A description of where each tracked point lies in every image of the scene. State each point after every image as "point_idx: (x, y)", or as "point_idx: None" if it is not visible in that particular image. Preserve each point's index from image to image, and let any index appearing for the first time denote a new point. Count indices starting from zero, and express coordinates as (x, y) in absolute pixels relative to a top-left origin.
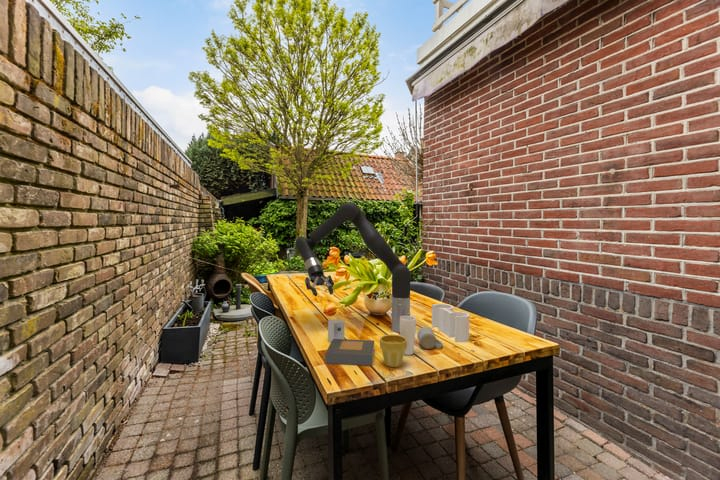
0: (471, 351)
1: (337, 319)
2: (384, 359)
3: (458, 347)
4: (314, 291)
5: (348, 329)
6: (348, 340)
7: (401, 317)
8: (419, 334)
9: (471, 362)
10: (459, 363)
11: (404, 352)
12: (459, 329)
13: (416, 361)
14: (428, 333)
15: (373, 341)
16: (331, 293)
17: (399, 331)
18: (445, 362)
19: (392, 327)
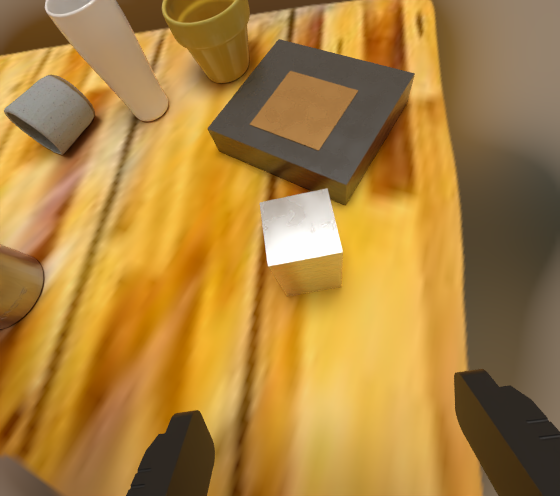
0: (22, 84)
1: (281, 250)
2: (248, 50)
3: None
4: (535, 431)
5: (185, 404)
6: (292, 151)
7: (82, 12)
8: (59, 111)
9: None
10: None
11: (165, 94)
12: None
13: (170, 67)
14: (50, 76)
15: (215, 121)
16: (203, 419)
17: (34, 260)
18: None
19: (28, 289)
